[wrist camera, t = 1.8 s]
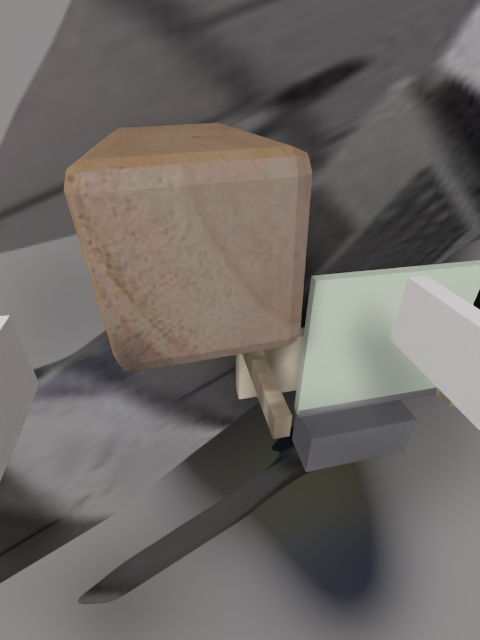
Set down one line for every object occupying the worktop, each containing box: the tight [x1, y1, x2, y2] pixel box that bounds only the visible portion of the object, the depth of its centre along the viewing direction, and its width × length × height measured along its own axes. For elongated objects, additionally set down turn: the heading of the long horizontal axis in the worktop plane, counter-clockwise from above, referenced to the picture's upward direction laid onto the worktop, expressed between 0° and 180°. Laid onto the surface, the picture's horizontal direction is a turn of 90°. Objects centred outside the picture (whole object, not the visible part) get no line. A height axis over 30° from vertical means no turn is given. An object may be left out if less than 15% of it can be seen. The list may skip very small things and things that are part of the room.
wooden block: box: [64, 123, 312, 371], centre depth 23 cm, size 10×10×20 cm
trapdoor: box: [292, 260, 480, 472], centre depth 31 cm, size 14×21×4 cm, turn 179°
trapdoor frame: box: [236, 327, 455, 439], centre depth 39 cm, size 19×11×16 cm, turn 89°
